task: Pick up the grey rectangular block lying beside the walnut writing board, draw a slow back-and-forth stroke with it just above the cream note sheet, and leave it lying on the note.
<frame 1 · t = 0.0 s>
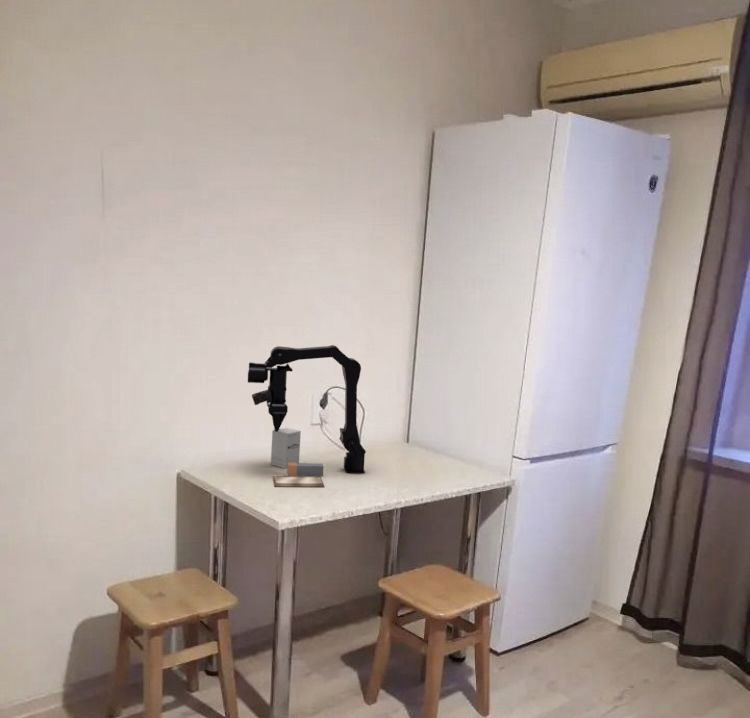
hand: (275, 428, 245), 15 cm above the table, tool pointing down, fingers open, 9 cm apart
writing board: (298, 482, 234), on the table
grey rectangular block: (304, 474, 243), on the table
supplement box: (284, 465, 254), on the table
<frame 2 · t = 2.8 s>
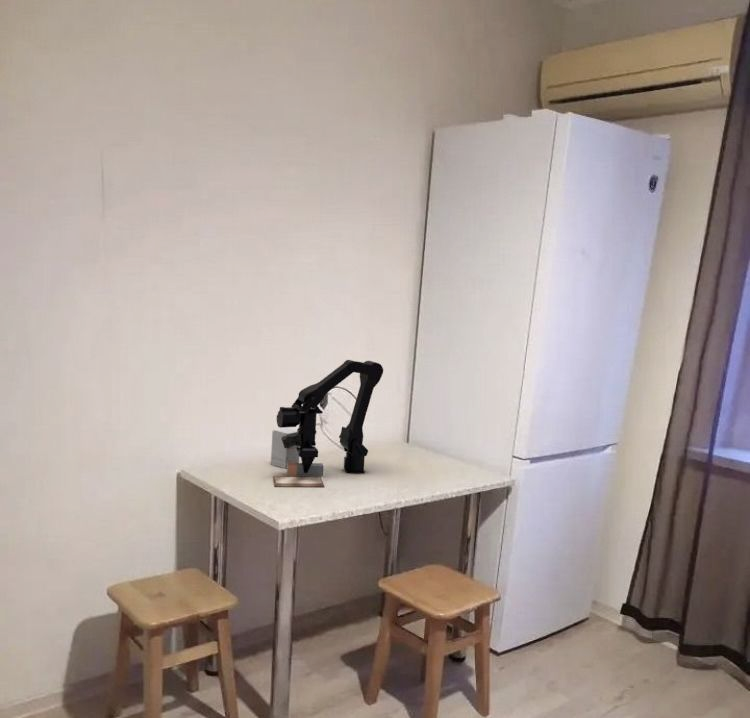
hand: (305, 471, 243), 1 cm above the table, tool pointing down, fingers closed on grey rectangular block, 4 cm apart
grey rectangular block: (304, 474, 243), on the table, touching gripper
everything else where it was.
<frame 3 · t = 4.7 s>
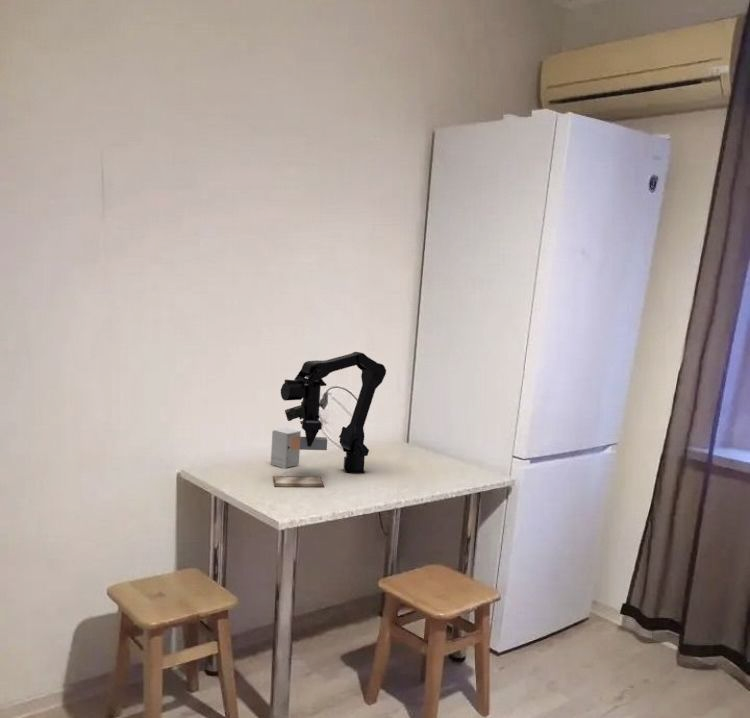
hand: (308, 444, 240), 11 cm above the table, tool pointing down, fingers closed on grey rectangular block, 4 cm apart
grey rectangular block: (308, 448, 240), point 10 cm above the table, touching gripper
everything else where it was.
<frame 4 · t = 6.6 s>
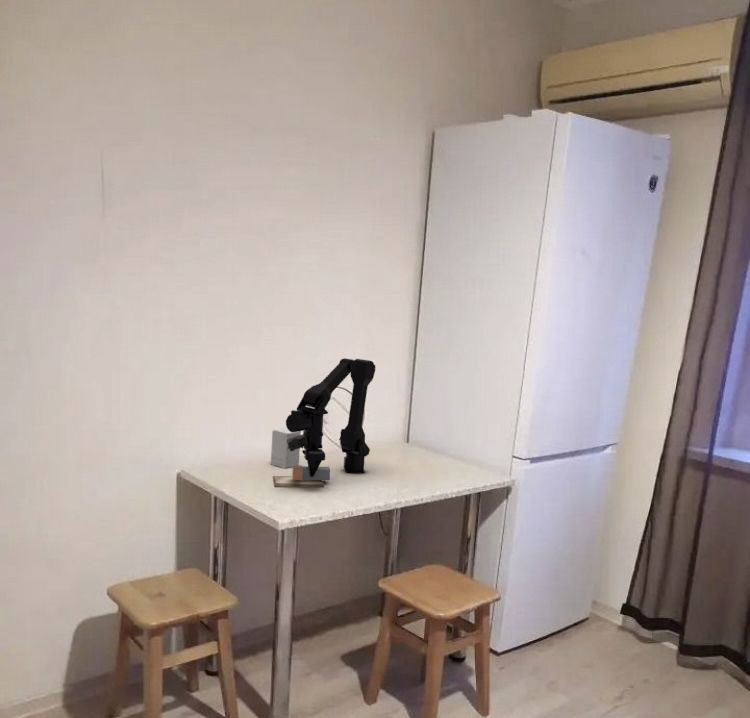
hand: (311, 474, 234), 3 cm above the table, tool pointing down, fingers closed on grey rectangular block, 4 cm apart
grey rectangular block: (310, 478, 235), point 1 cm above the table, touching gripper
everything else where it was.
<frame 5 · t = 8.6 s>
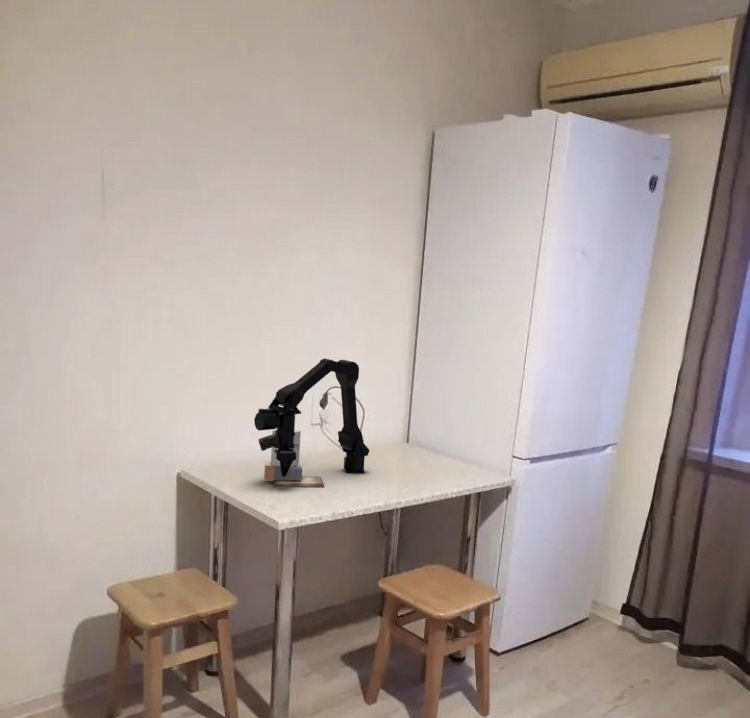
hand: (283, 474, 233), 3 cm above the table, tool pointing down, fingers closed on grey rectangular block, 4 cm apart
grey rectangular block: (282, 478, 233), point 1 cm above the table, touching gripper
everything else where it was.
when the fingers open (2 cm above the table, at t = 10.5 s): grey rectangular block stays where it is, resting on writing board.
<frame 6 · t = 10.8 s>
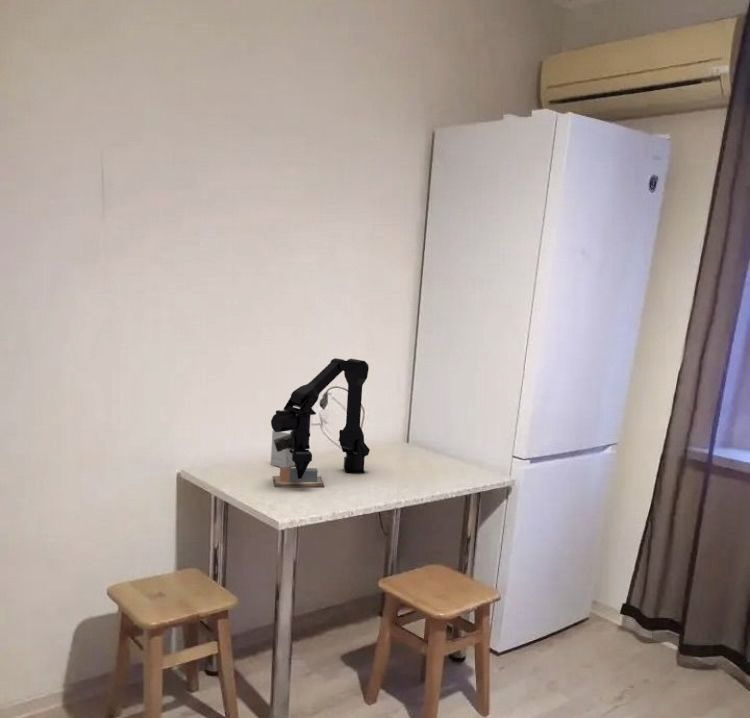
hand: (298, 475, 234), 2 cm above the table, tool pointing down, fingers open, 7 cm apart
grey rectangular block: (298, 480, 234), point 1 cm above the table, touching writing board
everything else where it was.
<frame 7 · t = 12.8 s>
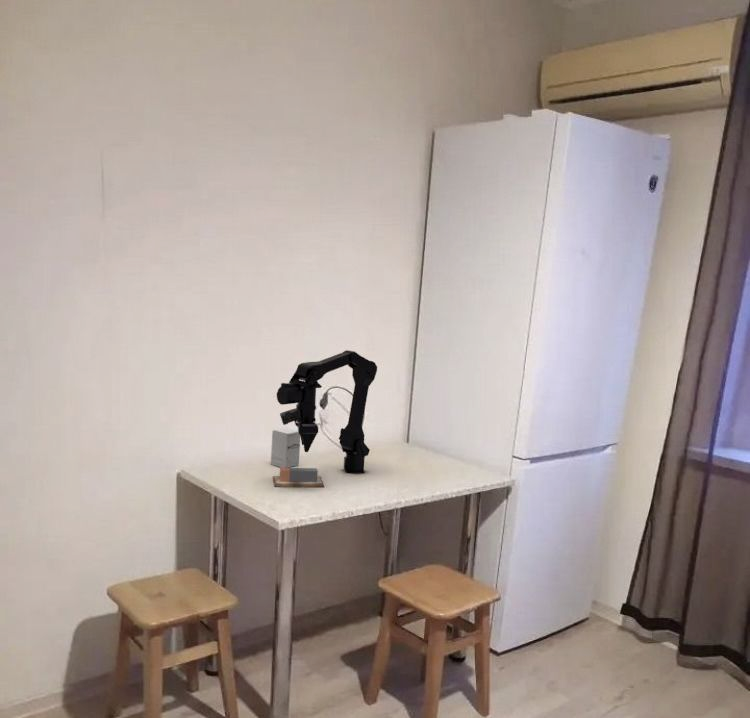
hand: (304, 448, 235), 11 cm above the table, tool pointing down, fingers open, 9 cm apart
nothing on the table moved.
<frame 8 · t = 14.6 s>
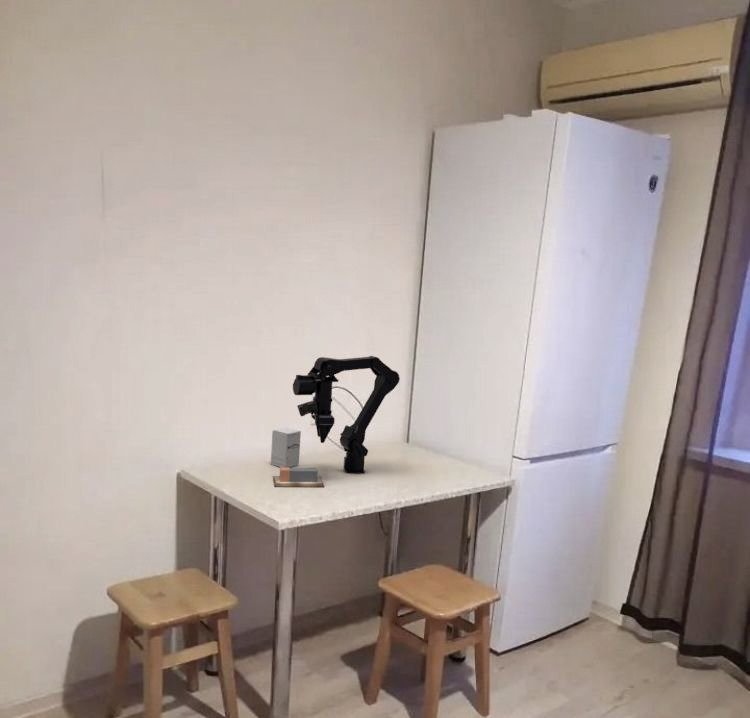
hand: (320, 439, 244), 12 cm above the table, tool pointing down, fingers open, 9 cm apart
nothing on the table moved.
at the end: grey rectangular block 0.0 cm off-centre on the writing board, point 0.7 cm above the writing board's base; the gripper is holding nothing; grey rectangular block moved 9.5 cm from its start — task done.
